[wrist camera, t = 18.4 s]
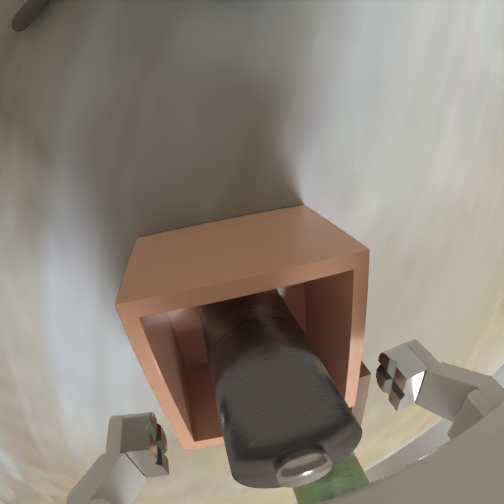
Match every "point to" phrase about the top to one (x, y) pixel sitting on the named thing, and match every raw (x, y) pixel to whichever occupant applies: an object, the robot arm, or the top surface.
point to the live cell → (333, 482)
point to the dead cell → (273, 394)
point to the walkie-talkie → (27, 14)
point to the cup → (237, 285)
